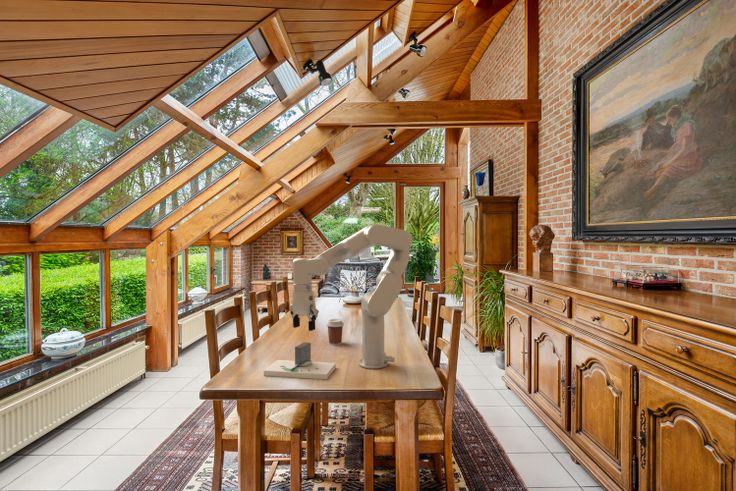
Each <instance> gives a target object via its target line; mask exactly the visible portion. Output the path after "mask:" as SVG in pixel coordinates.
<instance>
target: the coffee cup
mask: <svg viewBox="0 0 736 491" xmlns="http://www.w3.org/2000/svg"><path fill="white" fill-rule="evenodd" d="M325 324H326V327H327V333H328V334H327V335H328V345H330V346H340V345H341V344H342V342H343V340H342V339H343V326H345V323H344V322H343V320H342V319H340V318H332V319H331V318H330V319H329V320H328V322H327V323H325Z"/></svg>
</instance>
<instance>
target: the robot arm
mask: <svg viewBox="0 0 736 491" xmlns="http://www.w3.org/2000/svg"><path fill="white" fill-rule="evenodd" d="M375 245H376V246H380V247H384V248H389V250H390V253H389V257H388V259H387V260H386V262H385V264H384V266H383V268H381V271H380V272H379V273H378V275H377V276H376V279H375V285H376V288H375V290H370V291H367V292H365V294H364V295H363V296H362V298H361V304H360V305H361V317H362V322H361V324H362V325H361V326H362V328H361V330H362V332H361V333H362V334H361V335H362V339H361V340H362V344H361V345H362V349H361V350H362V356H361V357H362V359H360V360H359V361H358V365H359V366H360V367H361V368H365V369H370V370H371V369H383V368H385V367H387V366H388V365H389V362H391V363H395V359H396V358H395V357H393V356H391V355H387V353H386V352H385V316H386V314H388V312H389V311H390V309H391V308H392V306H393V305H394V303H395V302H396V300H397V298H398V296H399V295H400V294H401V291H402V289H403V284H404V283H403V278H402V275H403V273H404V272H405V270H406V268H407V266H408V263H409V261H410V248H411V246H412V245H413V236H412V234H411V233H410V232H409V231H408V230H405V229H400V228H396V227H392V226H387V225H382V224H378V223H374V224H373V223H372V224H369V225H367V226H364V227H363V228H361V229H360V230H358V231H357V232H355V233H353V234H352V235H350V236H347V238H345V239H343V240H341V241H340V242H338V243H337V244H335V245H334V246H331V247H330V248H328V249H326V250H325V251H323V252H322V253H319V254H318V255H316V256H314V258H309V257H299V258H298V257H297V258H294V259H293V260H292V277H293V278H292V281H293V285H292V286H293V292H292V301H291V302H292V305H290V306H289V307H288V308H289V312H290V315H291V319H292V327H293V328H294V329H296V328H300V327H301V320H300V318H301V317H300V316H302V317H303V316H304V317H307V319H308V325H307V326H308V331H309V332H312V331H315V330H316V321H317V318H318V316H319V312H320V311H319V309H317V308H316V298H315V294H314V291H313V282H312V276H325V275H327V274H328V273H329V272H330V269H331V268H332V267H334V266H335V265H337V264H339V263H341V262H344V261H347V260H350V259H353V258H355V257H357V256H358V255H360V254H362V253H364V252H365V251H366V250H368V249H370V248H372V247H373V246H375Z"/></svg>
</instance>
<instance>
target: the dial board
mask: <svg viewBox="0 0 736 491" xmlns="http://www.w3.org/2000/svg"><path fill="white" fill-rule="evenodd" d="M294 367H295V360H287V359H277V360H275V361H274V362H272V364H270V365H269V366H267V368H265V369H264V370H263V376H267V377H281V378H284V377H285V378H297V379H298V378H299V379H301V378H302V379H311V380H312V379H313V380H314V379H316V380H327V379H328V378H330V376H331V375H332V373H333V372H334V370H335V369H336V367H337V364H336V362H326V361H325V362H324V361H312V364H311V365H309V366H304V367H298V368H296V369H294V370H293V371H291V369H292V368H294Z"/></svg>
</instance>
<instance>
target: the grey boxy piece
mask: <svg viewBox="0 0 736 491" xmlns="http://www.w3.org/2000/svg"><path fill="white" fill-rule="evenodd" d="M311 344H312V343H311V342H309V341H307V342H302V343H300V344H298V345H296V346H294V361H295V367H294V368H292V369H291V371H293V370H294V369H296V368H298V367H304V366H309V365H311V364H312V362H313V361H312V360H311V358H312V354H311V352H312V350H311V348H312V346H311Z"/></svg>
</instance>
